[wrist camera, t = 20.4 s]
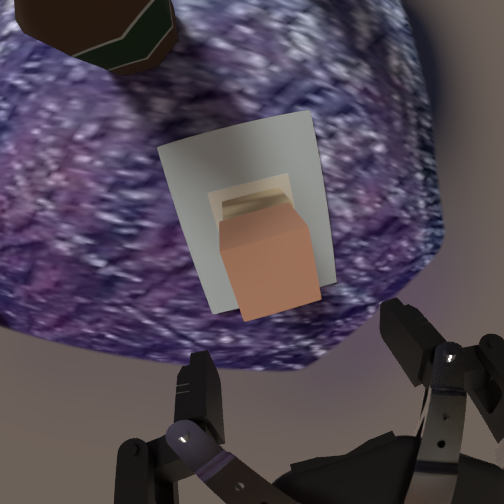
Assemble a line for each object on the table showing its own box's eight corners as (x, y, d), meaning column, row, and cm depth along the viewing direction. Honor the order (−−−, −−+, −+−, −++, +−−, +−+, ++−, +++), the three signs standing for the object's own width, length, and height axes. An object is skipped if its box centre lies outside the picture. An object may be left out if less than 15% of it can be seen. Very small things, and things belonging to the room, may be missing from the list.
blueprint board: (212, 307, 31) (212, 315, 30) (159, 146, 24) (156, 147, 23) (332, 276, 31) (336, 282, 30) (306, 110, 24) (310, 110, 23)
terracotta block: (238, 281, 23) (244, 321, 19) (219, 221, 21) (219, 251, 16) (301, 263, 23) (321, 299, 18) (288, 201, 21) (308, 226, 16)
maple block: (236, 253, 28) (240, 281, 23) (221, 201, 25) (222, 220, 21) (289, 239, 28) (303, 264, 23) (279, 187, 25) (292, 202, 21)
